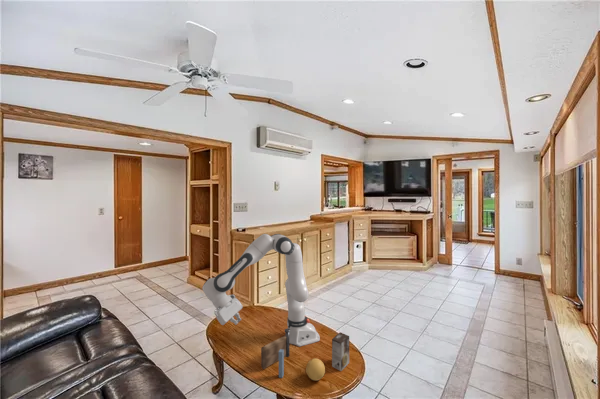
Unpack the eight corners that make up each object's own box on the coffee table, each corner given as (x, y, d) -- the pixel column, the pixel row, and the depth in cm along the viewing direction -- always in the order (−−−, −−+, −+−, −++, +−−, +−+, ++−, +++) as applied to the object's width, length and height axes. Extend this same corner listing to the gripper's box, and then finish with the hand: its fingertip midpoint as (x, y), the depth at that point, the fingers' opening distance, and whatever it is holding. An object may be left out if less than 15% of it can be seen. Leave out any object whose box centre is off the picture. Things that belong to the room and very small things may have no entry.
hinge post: (285, 353, 165) (285, 328, 164) (290, 354, 164) (290, 328, 163) (284, 356, 162) (283, 330, 161) (289, 357, 161) (289, 331, 160)
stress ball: (326, 382, 142) (326, 361, 149) (322, 377, 135) (322, 355, 143) (308, 383, 144) (308, 361, 151) (303, 377, 138) (304, 355, 145)
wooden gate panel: (284, 354, 162) (284, 335, 162) (286, 356, 161) (286, 337, 160) (261, 367, 151) (261, 347, 150) (263, 369, 149) (263, 349, 149)
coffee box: (339, 358, 160) (340, 331, 159) (349, 363, 156) (349, 335, 155) (331, 366, 153) (331, 338, 152) (341, 371, 149) (341, 342, 148)
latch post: (280, 374, 147) (280, 349, 146) (283, 375, 146) (283, 349, 146) (278, 377, 144) (278, 351, 144) (282, 378, 144) (282, 352, 143)
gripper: (216, 307, 147) (233, 328, 145) (235, 293, 167) (250, 311, 165) (209, 315, 149) (225, 335, 147) (228, 299, 169) (243, 317, 166)
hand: (238, 322), depth 156 cm, fingers closed
